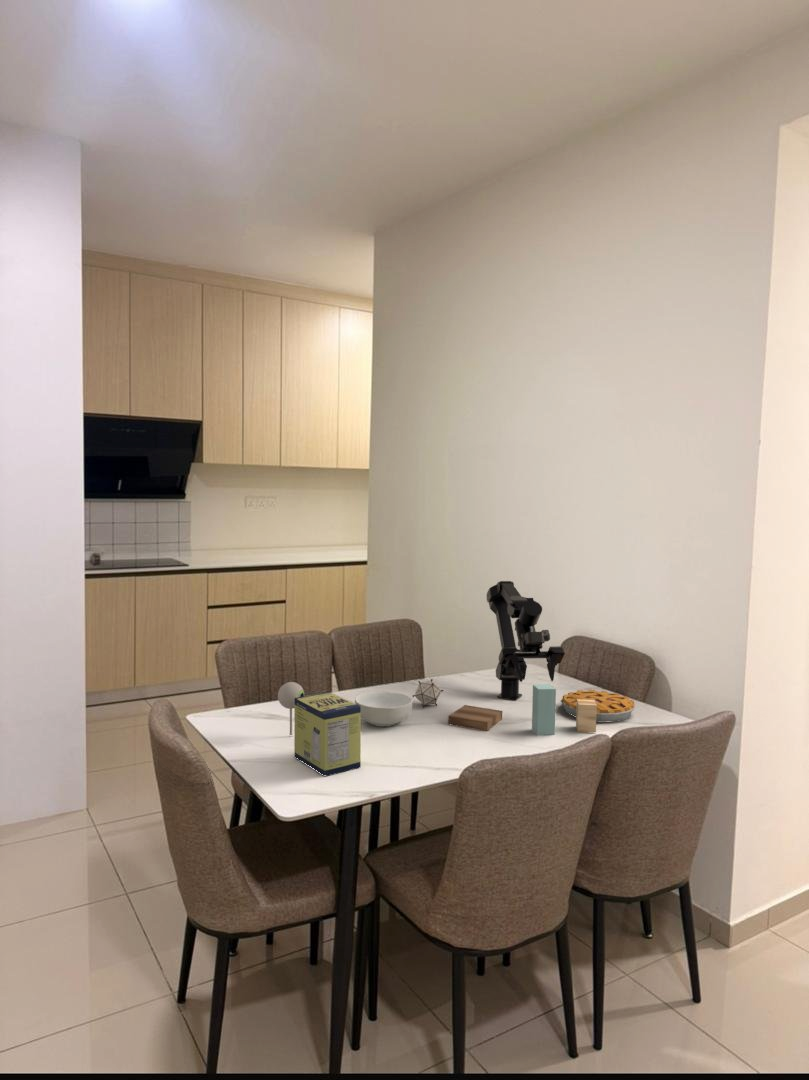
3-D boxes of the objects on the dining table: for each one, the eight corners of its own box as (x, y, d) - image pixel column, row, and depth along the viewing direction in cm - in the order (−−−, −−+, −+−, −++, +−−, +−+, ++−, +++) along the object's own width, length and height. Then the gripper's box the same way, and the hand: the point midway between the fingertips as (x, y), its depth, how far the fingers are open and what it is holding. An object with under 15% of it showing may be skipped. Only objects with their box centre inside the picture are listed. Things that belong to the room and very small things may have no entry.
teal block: (531, 729, 214) (532, 684, 213) (548, 728, 215) (550, 684, 214) (537, 735, 209) (538, 689, 208) (554, 734, 210) (555, 688, 209)
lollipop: (296, 742, 201) (296, 687, 200) (272, 738, 204) (272, 684, 203) (308, 734, 208) (308, 680, 207) (285, 730, 211) (285, 677, 209)
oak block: (576, 726, 217) (576, 699, 217) (593, 727, 217) (594, 700, 216) (577, 732, 212) (578, 704, 212) (595, 733, 212) (596, 705, 211)
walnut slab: (464, 714, 229) (465, 704, 228) (502, 720, 223) (502, 710, 223) (448, 725, 218) (448, 715, 218) (487, 732, 213) (487, 722, 212)
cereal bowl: (405, 734, 209) (406, 709, 208) (347, 729, 212) (347, 705, 212) (417, 715, 226) (417, 692, 225) (363, 711, 229) (363, 688, 228)
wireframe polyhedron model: (421, 718, 235) (402, 693, 234) (433, 702, 242) (414, 677, 241) (442, 709, 230) (422, 683, 229) (452, 693, 236) (433, 668, 236)
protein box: (328, 749, 197) (329, 690, 196) (361, 767, 184) (362, 705, 183) (293, 757, 191) (293, 697, 189) (324, 777, 178) (324, 713, 177)
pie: (602, 729, 216) (603, 712, 215) (546, 710, 233) (546, 694, 233) (649, 716, 229) (650, 699, 228) (592, 698, 246) (593, 683, 246)
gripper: (502, 620, 220) (511, 666, 210) (563, 619, 223) (575, 665, 213) (494, 641, 229) (503, 687, 219) (554, 640, 231) (565, 685, 221)
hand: (537, 680), depth 218 cm, fingers open, 9 cm apart
